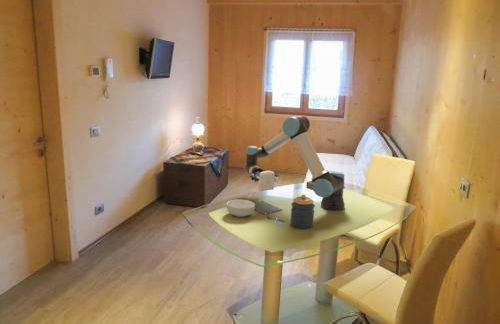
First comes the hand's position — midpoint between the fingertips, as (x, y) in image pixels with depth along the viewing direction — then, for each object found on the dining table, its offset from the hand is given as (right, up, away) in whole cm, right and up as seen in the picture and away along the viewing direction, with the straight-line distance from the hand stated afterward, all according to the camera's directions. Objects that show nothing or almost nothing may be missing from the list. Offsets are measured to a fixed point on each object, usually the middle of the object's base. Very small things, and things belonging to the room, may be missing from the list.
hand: (269, 180), depth 238 cm
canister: (+17, -24, -21) cm, 36 cm away
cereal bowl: (-18, -20, -8) cm, 28 cm away
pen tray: (+46, -7, +60) cm, 76 cm away
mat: (-4, -17, +5) cm, 19 cm away
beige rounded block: (-2, -6, +5) cm, 8 cm away
